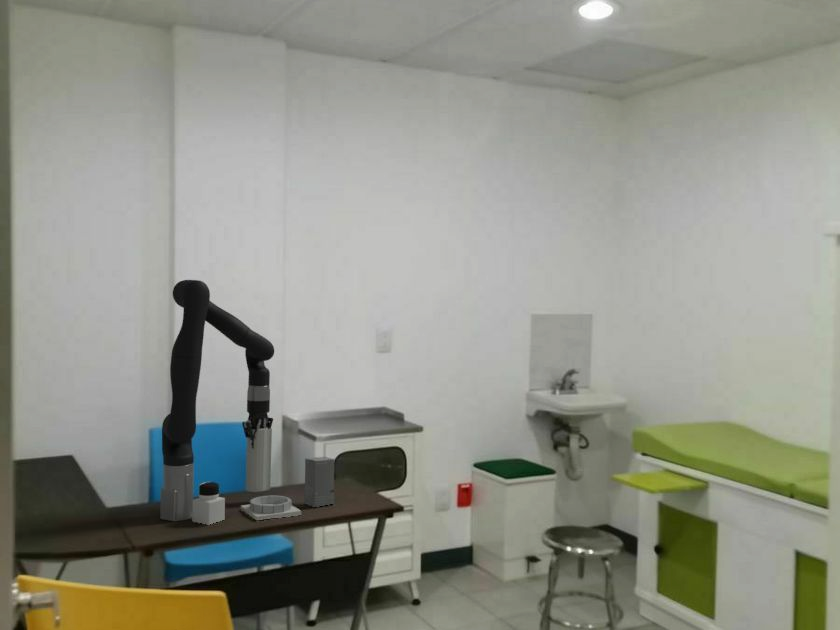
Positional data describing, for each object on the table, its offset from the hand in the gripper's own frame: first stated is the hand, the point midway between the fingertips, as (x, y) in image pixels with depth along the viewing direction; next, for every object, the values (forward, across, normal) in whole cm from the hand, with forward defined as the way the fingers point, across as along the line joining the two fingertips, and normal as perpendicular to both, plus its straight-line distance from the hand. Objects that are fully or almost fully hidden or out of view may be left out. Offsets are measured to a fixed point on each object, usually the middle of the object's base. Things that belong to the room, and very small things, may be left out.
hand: (257, 449), depth 281 cm
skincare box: (+19, -11, +19) cm, 28 cm away
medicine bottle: (+19, +24, +2) cm, 31 cm away
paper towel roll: (+14, 0, 0) cm, 14 cm away
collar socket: (+19, +6, +12) cm, 23 cm away
